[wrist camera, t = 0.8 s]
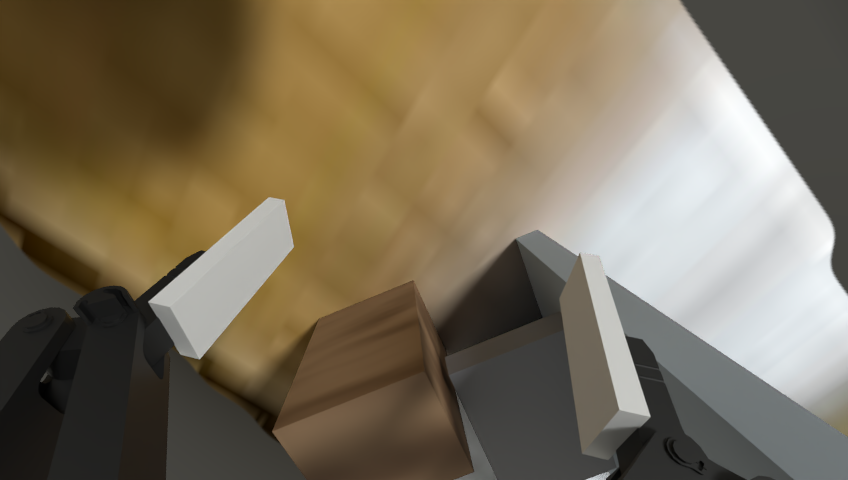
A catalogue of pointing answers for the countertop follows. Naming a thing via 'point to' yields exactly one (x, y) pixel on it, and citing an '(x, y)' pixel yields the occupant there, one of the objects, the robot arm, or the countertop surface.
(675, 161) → the countertop surface
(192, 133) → the countertop surface
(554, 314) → the wall board
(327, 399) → the cabinet
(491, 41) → the countertop surface
